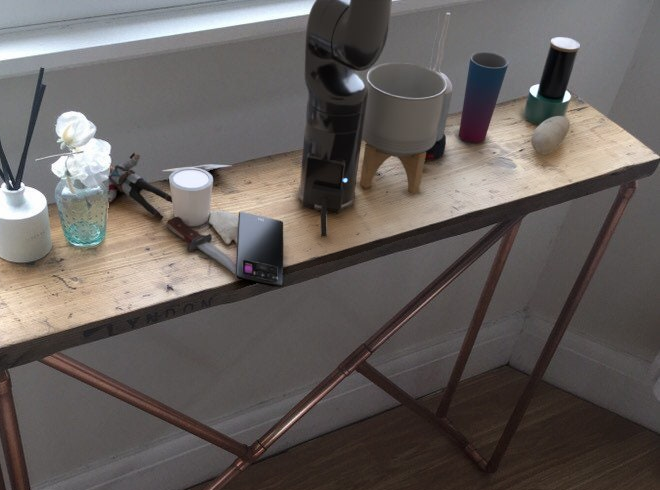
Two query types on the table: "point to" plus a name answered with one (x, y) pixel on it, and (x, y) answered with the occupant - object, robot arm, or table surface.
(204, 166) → the diorama
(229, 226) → the arrowhead
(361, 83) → the robot arm
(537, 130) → the stone
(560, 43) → the tall tin
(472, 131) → the cup
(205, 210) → the white cylinder
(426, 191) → the table surface
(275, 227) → the smartphone
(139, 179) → the action figure
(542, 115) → the squat tin
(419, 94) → the planter
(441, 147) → the white tall piece
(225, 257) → the knife
